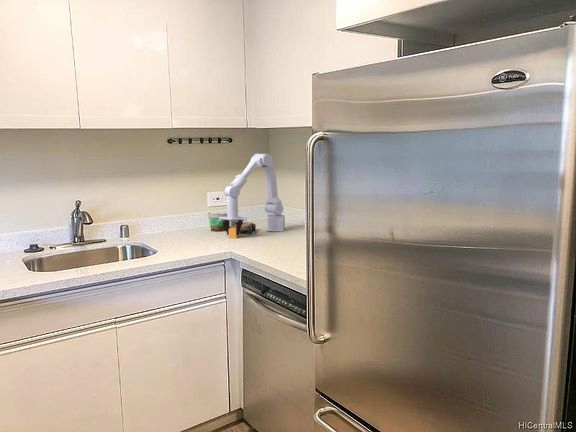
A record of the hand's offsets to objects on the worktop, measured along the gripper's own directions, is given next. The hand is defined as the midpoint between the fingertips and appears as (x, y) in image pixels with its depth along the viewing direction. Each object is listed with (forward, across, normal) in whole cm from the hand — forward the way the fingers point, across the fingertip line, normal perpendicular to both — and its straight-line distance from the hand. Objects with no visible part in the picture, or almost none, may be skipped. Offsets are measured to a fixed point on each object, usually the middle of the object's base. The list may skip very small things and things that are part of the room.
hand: (233, 234), depth 241 cm
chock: (+2, 0, +2) cm, 3 cm away
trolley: (+2, +1, +14) cm, 14 cm away
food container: (+2, -14, +16) cm, 21 cm away
